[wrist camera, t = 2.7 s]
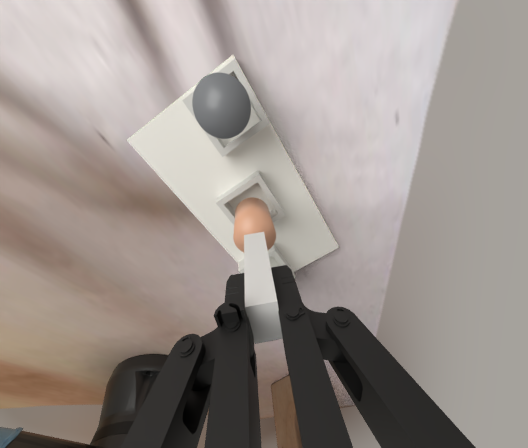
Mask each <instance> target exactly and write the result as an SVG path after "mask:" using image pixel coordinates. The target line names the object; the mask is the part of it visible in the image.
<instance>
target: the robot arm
mask: <svg viewBox="0 0 528 448" xmlns="http://www.w3.org/2000/svg"><path fill="white" fill-rule="evenodd" d="M214 317H215V320H216V322H217V325H218V327H217V328H216V329H215V330H214V331H212V332H210V333H208V334H206V335H204V336H202V337H199V336H198V335H196V334H189V335H186V336H184V337H182V338H181V339H180V340H179V341H177V343H176V344H175V345H174V347H173V348H172V350H171V352H170V354H169V356H165V355H141V356H136V357H132V358H129V359H127V360H125V361H123V362H121V363H120V364H119V365H118V366H117V367H116V368H115V370H114V371H113V373H112V375H111V377H110V379H109V381H108V384H107V387H106V392H105V397H104V401H103V406H102V411H101V416H100V421H99V426H98V428H97V431H96V433H95V435H94V437H93V439H92V442H91V444H90V445H88V444H83V443H79V442H74V441H69V440H64V439H59V438H54V437H49V436H44V435H40V434H35V433H30V432H25V431H22V430H23V428H20V427H19V428H16V429H10V428H3V427H0V448H197V445H198V442H199V438H200V435H201V431H202V428H203V424H204V422H205V418H206V415H207V412H208V408H209V414H208V423H207V432H206V440H205V448H261V433H260V416H259V399H258V382H257V365H256V354H255V350H254V343H255V344H257V343H262V342H267V341H273V340H278V339H283V343H284V348H285V355H286V360H287V365H288V371H289V376H290V382H291V387H292V393H293V398H294V404H295V409H296V415H297V420H298V426H299V431H300V437H301V442H302V448H353V446H352V443H351V441H350V438H349V435H348V432H347V429H346V426H345V423H344V420H343V417H342V414H341V411H340V408H339V405H338V402H337V399H336V396H335V393H334V390H333V387H332V384H331V381H330V378H329V375H328V372H327V369H326V366H325V363H324V360H328V361H329V363H330V364H331V366H332V367H333V369H334V371H335V372H336V374H337V376H338V377H339V379H340V381H341V382H342V384H343V385H344V387H345V389H346V390H347V392H348V394H349V395H350V397H351V399H352V400H353V402H354V403H355V405H356V407H357V408H358V410H359V412H360V413H361V415H362V416H363V418H364V420H365V422H366V423H367V425H368V426H369V428H370V430H371V431H372V433H373V435H374V436H375V438H376V440H377V441H378V443H379V444H380V446H381V448H475V446H474V445H473V444H472V443H471V442H470V441H469V440H468V439H467V438H466V437H465V435H463V433H462V432H461V431H460V430H459V429H458V428H457V427H456V426H455V425H454V424H453V422H452V421H451V420H450V419H449V418H448V417H447V416H446V415H445V413H444V412H443V411H442V410H441V409H440V408H439V407H438V406H437V405H436V404H435V402H434V401H433V400H432V399H431V398H430V397H429V396H428V395H427V394H426V393H425V391H424V390H423V389H422V388H421V387H420V386H419V385H418V384H417V383H416V382H415V380H414V379H413V378H412V377H411V376H410V375H409V374H408V373H407V372H406V371H405V369H403V367H402V366H401V365H400V364H399V363H398V362H397V361H396V359H395V358H394V357H393V356H392V355H391V354H390V353H389V352H388V351H387V350H386V349H385V347H384V346H383V345H382V344H381V343H380V342H379V341H378V340H377V339H376V337H375V336H374V335H373V334H372V333H371V332H370V331H369V330H368V329H367V328H366V326H365V325H364V324H363V323H362V322H361V321H360V320H359V319H358V318H357V317H356V315H355V314H354V313H352V312H351V311H350V310H348V309H346V308H344V307H334V308H331V309H330V310H328V311H327V313H319V312H314V311H311V310H309V309H308V308H306V307H305V306H304V304H303V303H302V300H301V297H300V294H299V291H298V288H297V285H296V282H295V279H294V276H293V273H292V270H291V269H290V268H289V267H288V266H287V265H283V266H277V267H272V268H271V266H270V260H269V255H268V250H267V245H266V240H265V235H264V232H259V233H253V234H247V235H244V273H241V274H235V275H231V276H230V277H229V279H228V281H227V284H226V295H225V303H223V304H222V305H220V306H219V307H218V308H217V310H216V311H215V314H214ZM323 359H324V360H323ZM209 405H210V406H209Z"/></svg>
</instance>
